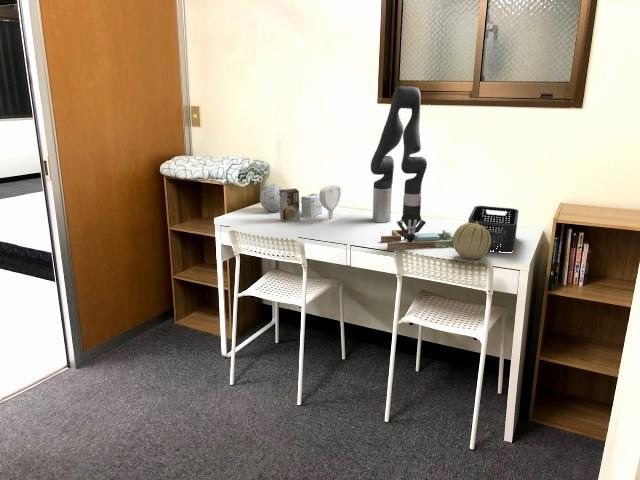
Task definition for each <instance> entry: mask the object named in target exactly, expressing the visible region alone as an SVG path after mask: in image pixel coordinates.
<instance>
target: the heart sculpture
mask: <svg viewBox="0 0 640 480" xmlns="http://www.w3.org/2000/svg"><path fill="white" fill-rule="evenodd" d="M319 194H320V195H319V197H320V202H321V205H322V208H324V209H326V210H327V211H328V212H327V213H328V214H327V215H328V216H327V219H324V220H322V221H321V223H322V224H331V223H333V222H335V221H338V220H340V219H341V218H340V217H338V216H337V217H335V216H334V215H333V214H334V211H335V209H336V207H337V206H338V205H339V202H340V200H341V197H342V187H341V186H340V185H336V184H329V185H328V186H324V187H322V188H321V189H320V190H319Z"/></svg>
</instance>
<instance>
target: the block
mask: <svg viewBox="0 0 640 480" xmlns="http://www.w3.org/2000/svg"><path fill="white" fill-rule="evenodd" d="M436 233H437V232H424V233H419V232H418V233H415V234H414V241H413V242H420V241H441V239H440V236H439V235H437V234H436Z"/></svg>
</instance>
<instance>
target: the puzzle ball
mask: <svg viewBox="0 0 640 480" xmlns="http://www.w3.org/2000/svg"><path fill="white" fill-rule="evenodd" d="M283 189H284V188H283V187H281V185H278V184H277V185H276V184H269V185H267V186H265V187H264V188H263V189H262V190H261V191H260V194H259V202H260V204H261V207H262V208H263V209H264V210H266V211H268V212H272V213H275V212H276V213H277V212H280V196H279V190H283Z"/></svg>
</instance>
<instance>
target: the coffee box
mask: <svg viewBox="0 0 640 480" xmlns="http://www.w3.org/2000/svg"><path fill="white" fill-rule="evenodd" d="M299 192H300V190H298V189H297V188H285V189H284V188H283V190H279V196H280V211H279V215H280V217H279V218H280V221H281V222H282V223H283V222H284V223H291V222H293V223H294V222H300V220H301V219H300V217H301V215H300V214H301V213H300V193H299Z"/></svg>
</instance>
